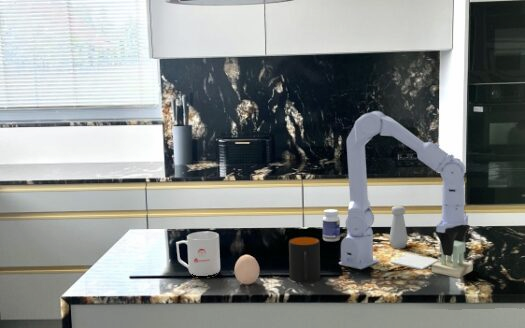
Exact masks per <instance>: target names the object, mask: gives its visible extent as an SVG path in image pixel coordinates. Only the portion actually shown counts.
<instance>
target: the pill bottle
mask: <svg viewBox="0 0 525 328" xmlns="http://www.w3.org/2000/svg"><path fill="white" fill-rule="evenodd" d="M323 214H324V216H323V217H322V239H323V241H325V242H337V241H338V242H339V240H340V238H341V228H340V227H341V224H340V223H341V221H340V217H339V216H338V215H339V211H338V209H334V208H333V209H330V208H329V209H324V210H323Z"/></svg>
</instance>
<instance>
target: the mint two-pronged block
mask: <svg viewBox="0 0 525 328" xmlns="http://www.w3.org/2000/svg"><path fill="white" fill-rule="evenodd" d="M465 252H466V241H464V242H460V241H454V246H453V253H452V256H447V255H444V254H443V250H442V246H441V243H440V242H439V253H440V254H441V257H440V258H441V259H440V261H441V265H446V258H447V262H451V261H452V259H453V267H458V261H459V264H463V261H464V253H465Z"/></svg>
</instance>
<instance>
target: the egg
mask: <svg viewBox="0 0 525 328" xmlns="http://www.w3.org/2000/svg"><path fill="white" fill-rule="evenodd" d="M234 265H235V266H234V275H235V276H234V277H235V278H236V279H237V281H239V282H240V283H242V284H243V285H251V284H253V283H254V282H256V281H257V279H259V276H260V266H259V263H258V261H257V260H256V258H255V257H253V256H251V255H250V254H244V255H241V256H240V257H239V258H238V259H237V261H236V262H235V264H234Z"/></svg>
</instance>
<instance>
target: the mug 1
mask: <svg viewBox="0 0 525 328" xmlns="http://www.w3.org/2000/svg"><path fill="white" fill-rule="evenodd" d="M181 244H186V245H187V262H188V264H187V263H186V262H185V261H183V260H182V259H181V257H180V249H179V247H180V246H179V245H181ZM175 245H176V254H177V261H178V263H180V264H181V265H182V266H183V267H186V268H187V269H188V272H189V273H190V275H192V274H193V275H196V276H208V275H213V274H216V273H217V274H219V272H220V270H221V257H220V256H221V255H220V235H219V233H217V232H214V231H196V232H192V233H189V234H188V235H186V240H179V241H176V242H175ZM217 274H216V275H217ZM193 275H192V276H193Z"/></svg>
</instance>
